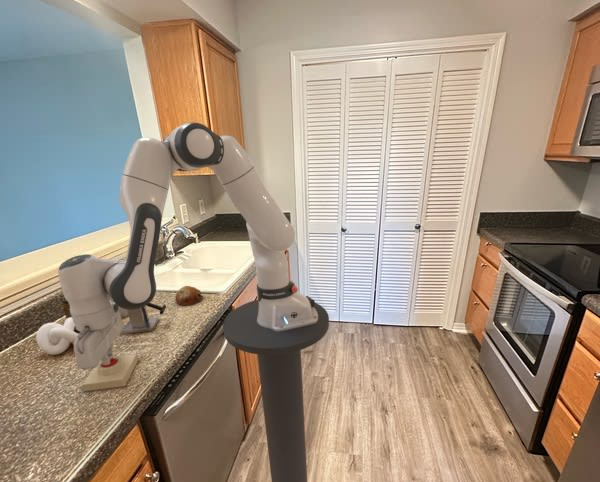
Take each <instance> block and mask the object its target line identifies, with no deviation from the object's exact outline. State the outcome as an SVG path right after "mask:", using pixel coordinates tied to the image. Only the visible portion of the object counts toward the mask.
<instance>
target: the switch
mask: <svg viewBox="0 0 600 482" xmlns="http://www.w3.org/2000/svg"><path fill="white" fill-rule="evenodd" d="M146 307H149V308H152V309H154V310H157V311H159V314H160V315H163V314H164V313H165V311H166V308H167V305H166V304H163V305H162V306H160V305H157V304H155V303H152V302H150V303H149V304H147V305H146Z"/></svg>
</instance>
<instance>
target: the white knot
mask: <svg viewBox="0 0 600 482" xmlns="http://www.w3.org/2000/svg"><path fill="white" fill-rule="evenodd" d="M74 327H75V324H74V322H73V319H72V317H70V318H66V319H65V320H64V322H63V324H60V323H58V322H46V323H44V324H43V325H42V326H40V327H39V328H38V329H37V332H36V336H35V339H36V343H37V346H38V348H39V349H40V350H41V351H42V352H44V353H45V354H47V355H52V356H53V355H54V356H55V355H60V354H63V353H64V352H66V350H67V349H68V348H69V347H70V344H72V345H74V342H75V341H76V339H77V335H78V334H77V333H76V332H74Z"/></svg>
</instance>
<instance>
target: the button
mask: <svg viewBox="0 0 600 482" xmlns="http://www.w3.org/2000/svg"><path fill="white" fill-rule="evenodd" d="M116 363H117V360H116V359H115V358H113V360H112V361H111V363H110V364H109V365H103V363H102V366H103V367H104V368H106V367H110V366H113V365H115V364H116Z"/></svg>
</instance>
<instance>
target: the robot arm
mask: <svg viewBox="0 0 600 482" xmlns="http://www.w3.org/2000/svg"><path fill="white" fill-rule="evenodd" d="M203 168H209V169H210V170H211V171H212V172H213V173H214V174H215V175H216V177H217V179H218V181H219V182H220V184H221V186H222V187H223V190H225V192H226V194H227V196H228V197H229V199H230V201H231V202H232V203H233V205H234V207H235V208H236V210H237V211H238V212H239V214H240V215H241V216H242V217H243V219H244V221H245V222H246V223H245V224H246V225H245V227H246V230H247V233H248V237H249V242H250V248H251V252H252V255H253V256H252V257H253V258H254V265H255V272H256V273H255V274H256V282H257V284H256V296H257V297H256V298H257V300H259V309H258V317H257V323H258V324H259V325H261V326H263V327H266V328H270V329H272V330H274V331H276V332H280V331H284V330H289V329H293V328H298V327H302V326H307V325H311V324H315V323H317V321H318V313H317V311H316V310H315V308H314V307H313V306H315V303H316V301H315V299H313V298H312V297H310V296H308V295H304V294H302V293H301V292H299V290H298V289H299V288H298V287H297V285H296V283H294V281H293V280H290V277H289V275H290V273H289V262H288V258H287V256H286V254H285V251H286V250H287V249H289V248H290V247H291V246H292V245H293V243H294V241H295V237H296V231H295V228H294V226H293V224H292V223H291V222H290V221H289V219H288V218H287V217H286V215H285V214H284V212H283V210H282V209H281V208H280V206H279V205H278V203H277V202H276V200H275V199H274V197H272V195H271V193H270V191H269V190H268V189H267V187H266V185H265V184H264V182H263V180H262V178H261V176H260V174H259V173H258V171H257V169H256V167H255V166H254V163H253V162H252V160H251V158H250V157H249V155H248V153H247V152H246V151H245V149H244V148H243V146H242V145H241V144H240V143H239V142H238V140H237V139H236V138H235V137H233V136H231V135H218V134H216V133H215V132H214V131H213V130H212V129H210V128H209V127H208V126H206V125H204V124H202V123H200V122H195V121H192V122H191V121H190V122H186V123H183V124H182V125H179V126H177V127H176V128H174V129H173V130H172V131H171V132H170V133H169V134H168V135H167V136H166V137H165V138H164V139H163V140H159V139H156V138H154V137H140V138H138V139H136V140H135V141H134V143H133V145H132V147H131V149H130V151H129V154H128V155H127V159H126V160H125V164H124V167H123V171H122V175H121V179H120V183H119V194H118V195H119V197H118V198H119V203H120V205H121V208H122V210H123V211H124V213H125V215H126V217H127V219H128V222H129V229H130V233H129V240H128V245H127V251H126V257H125V260H123V259H107V258H101V257H96V256H94V255H92V254H89V253H88V254H79V255H74V256H72V257H70V258H67V259H66V260H64V261H63V262H61V263H60V265H59V267H58V270H57V273H58V274H57V275H58V280H59V284H60V288H61V291H62V294H63V296H64V298H66V300H67V301H68V303H69V305H70V313H71V316H72V319H73V322H74V324H75V327H76V329H77V330H78V331H80V333H79V334H78V335H77V339H76V341H75V342H74V344H73V352H74V356H75V360H76V363H77V366H78V368H79V369H81V370H90V369H91V370H92V369H94V368H95V367H97V365H98V364H99V362H100V361H101V360H102V363H103V365H109V364H110V363H111V361H112V360H113V358H114V357H113V356H114V353H113V352H114V351H113V350H114V345H113V343H114V342H115V341H116V339H117V338H118V336H119V335H120V333H121V332H122V331H123V327H124V326H123V325H124V324H123V320H122V319H123V318H121V315H120V312H119V307H121V308H123V309H127V310H136V309H140V308H142V307H144V306H146V305H147V304H149V303H152V301H153V299H154V297H155V296H156V292H157V283H156V277H155V264H156V258H157V254H158V253H157V252H158V247H159V242H160V236H161V229H162V220H163V214H164V210H165V206H166V201H167V199H168V195H169V189H170V186H171V180H172V178H173V176H174V174H175V173H176V171H179V172H194V171H199V170H201V169H203ZM111 299H113V301H114V302H112V303H111ZM146 307H147V306H146Z"/></svg>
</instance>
